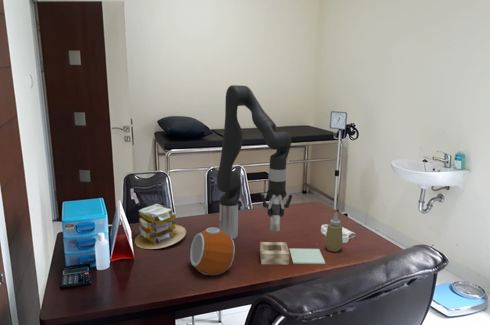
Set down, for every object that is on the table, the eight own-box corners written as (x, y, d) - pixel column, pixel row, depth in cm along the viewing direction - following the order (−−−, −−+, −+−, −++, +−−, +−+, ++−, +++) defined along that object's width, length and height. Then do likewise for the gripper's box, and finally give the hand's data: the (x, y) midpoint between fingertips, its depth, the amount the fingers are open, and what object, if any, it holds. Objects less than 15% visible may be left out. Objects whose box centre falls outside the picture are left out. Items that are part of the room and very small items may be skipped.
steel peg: (270, 231, 172) (271, 196, 168) (269, 227, 176) (271, 193, 172) (280, 231, 172) (282, 196, 168) (279, 227, 176) (281, 193, 172)
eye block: (261, 264, 171) (261, 253, 170) (259, 252, 182) (260, 241, 181) (288, 264, 171) (289, 253, 170) (285, 252, 183) (286, 242, 182)
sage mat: (293, 263, 172) (293, 262, 172) (289, 249, 186) (289, 248, 186) (325, 264, 172) (325, 262, 172) (318, 250, 186) (319, 248, 186)
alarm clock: (185, 261, 172) (185, 224, 168) (223, 255, 178) (224, 219, 175) (198, 282, 155) (198, 241, 151) (239, 274, 161) (240, 235, 158)
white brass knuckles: (359, 240, 199) (337, 245, 193) (335, 227, 215) (314, 232, 208) (360, 234, 199) (337, 239, 192) (336, 222, 214) (314, 226, 207)
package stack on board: (139, 254, 178) (138, 219, 174) (130, 234, 200) (129, 202, 196) (192, 245, 188) (192, 212, 185) (178, 227, 210) (177, 197, 206)
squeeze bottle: (332, 254, 182) (334, 217, 178) (321, 247, 189) (323, 211, 185) (345, 251, 185) (348, 215, 181) (334, 244, 192) (337, 209, 188)
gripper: (261, 180, 165) (259, 219, 169) (295, 181, 165) (292, 219, 169) (260, 175, 172) (258, 213, 176) (292, 176, 172) (290, 213, 176)
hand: (275, 216), depth 172 cm, fingers closed on steel peg, 4 cm apart
